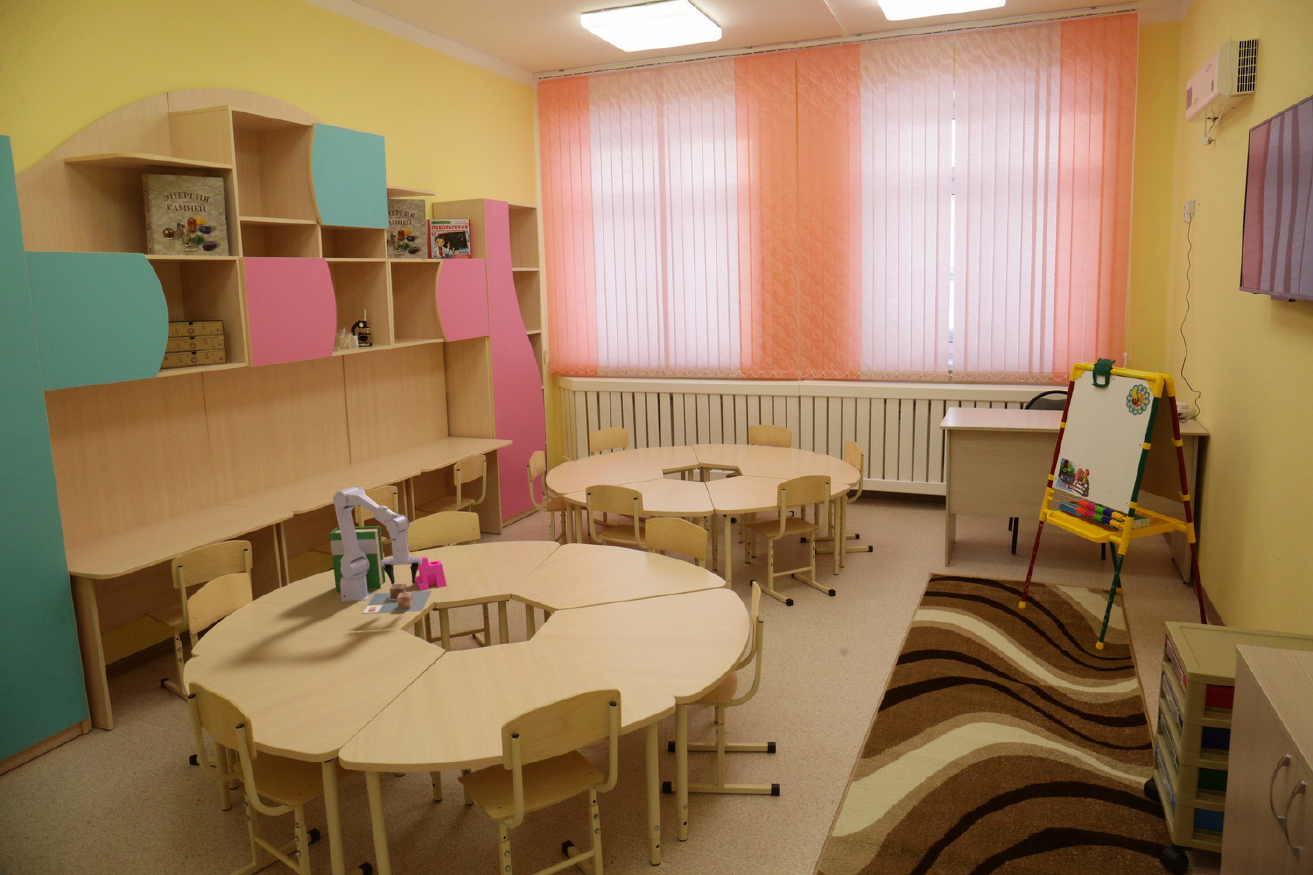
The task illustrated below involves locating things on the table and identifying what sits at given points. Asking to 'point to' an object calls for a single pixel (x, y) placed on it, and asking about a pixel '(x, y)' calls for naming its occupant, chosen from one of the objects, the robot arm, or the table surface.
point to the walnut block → (397, 590)
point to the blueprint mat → (395, 603)
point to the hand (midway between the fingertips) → (403, 582)
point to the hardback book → (368, 544)
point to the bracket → (430, 574)
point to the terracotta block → (405, 600)
